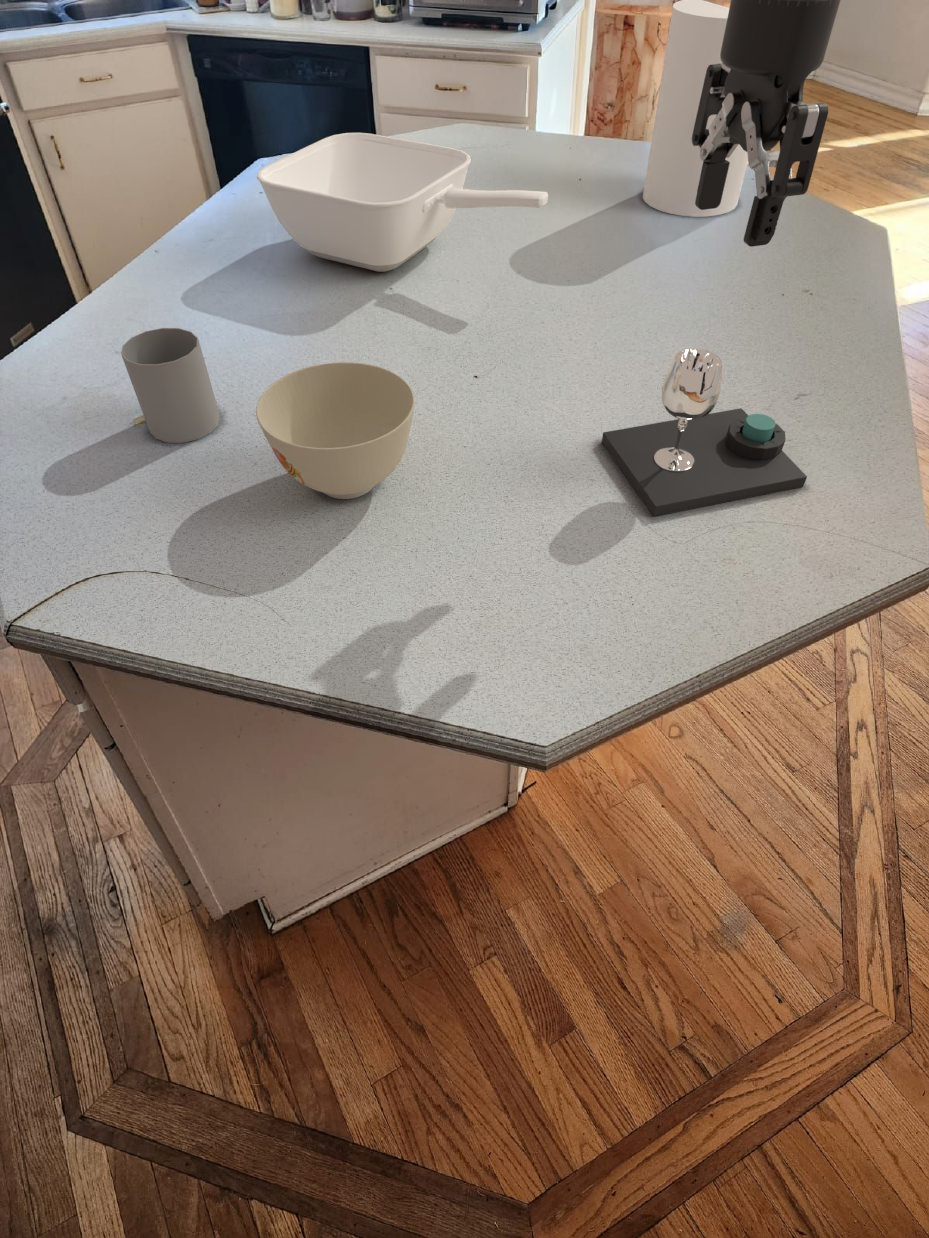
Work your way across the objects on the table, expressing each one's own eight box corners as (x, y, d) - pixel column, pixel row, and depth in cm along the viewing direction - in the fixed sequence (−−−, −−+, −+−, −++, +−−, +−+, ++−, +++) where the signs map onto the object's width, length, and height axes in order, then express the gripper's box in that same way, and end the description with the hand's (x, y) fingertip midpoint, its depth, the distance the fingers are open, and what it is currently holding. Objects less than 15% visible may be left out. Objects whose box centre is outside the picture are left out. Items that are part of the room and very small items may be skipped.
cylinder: (678, 223, 133) (717, 23, 112) (624, 191, 143) (651, 2, 123) (757, 207, 138) (808, 12, 117) (699, 177, 148) (737, -6, 127)
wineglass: (647, 472, 83) (669, 372, 74) (647, 442, 86) (668, 343, 78) (701, 477, 82) (729, 377, 73) (699, 447, 86) (726, 348, 77)
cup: (231, 427, 91) (210, 349, 84) (166, 451, 88) (138, 373, 81) (202, 396, 96) (179, 320, 88) (139, 419, 93) (110, 342, 85)
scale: (742, 417, 92) (749, 395, 90) (807, 486, 83) (816, 463, 81) (601, 442, 89) (604, 420, 87) (653, 516, 80) (658, 494, 78)
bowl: (267, 452, 88) (248, 374, 80) (401, 430, 91) (395, 352, 83) (284, 541, 77) (264, 461, 70) (435, 513, 80) (431, 433, 73)
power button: (761, 425, 87) (765, 411, 85) (776, 440, 84) (781, 427, 83) (736, 429, 86) (740, 416, 85) (751, 445, 84) (755, 431, 83)
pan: (352, 209, 138) (343, 124, 128) (573, 257, 124) (582, 166, 114) (258, 265, 122) (239, 173, 112) (499, 327, 108) (503, 228, 98)
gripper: (897, 1, 50) (814, 253, 62) (780, -33, 59) (727, 192, 71) (798, 7, 49) (732, 264, 61) (693, -28, 58) (655, 201, 70)
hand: (730, 225), depth 66 cm, fingers open, 8 cm apart
